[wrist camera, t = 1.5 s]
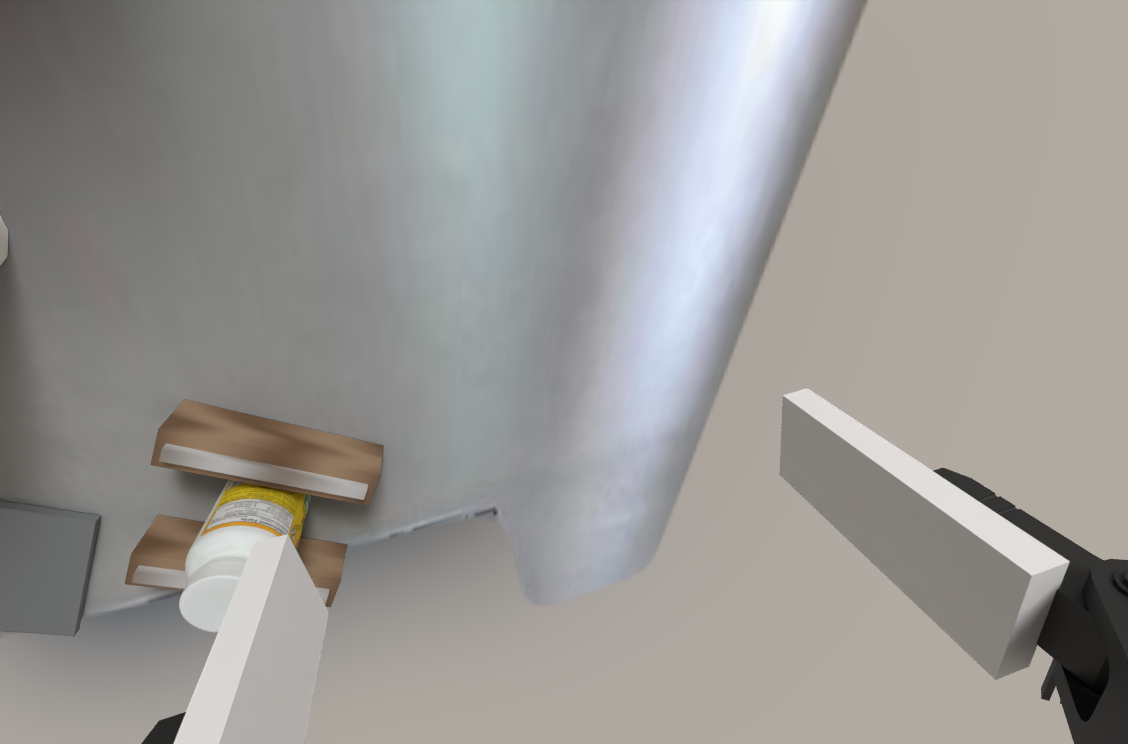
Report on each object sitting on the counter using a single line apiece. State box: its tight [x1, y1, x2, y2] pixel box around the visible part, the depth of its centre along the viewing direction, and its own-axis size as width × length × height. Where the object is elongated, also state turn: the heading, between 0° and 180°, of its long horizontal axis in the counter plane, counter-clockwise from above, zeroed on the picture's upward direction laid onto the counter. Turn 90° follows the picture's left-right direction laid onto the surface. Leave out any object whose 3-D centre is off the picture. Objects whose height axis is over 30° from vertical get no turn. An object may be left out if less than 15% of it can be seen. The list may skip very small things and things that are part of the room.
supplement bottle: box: [179, 480, 310, 632], centre depth 32 cm, size 5×5×10 cm
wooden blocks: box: [125, 400, 383, 607], centre depth 34 cm, size 12×11×4 cm
